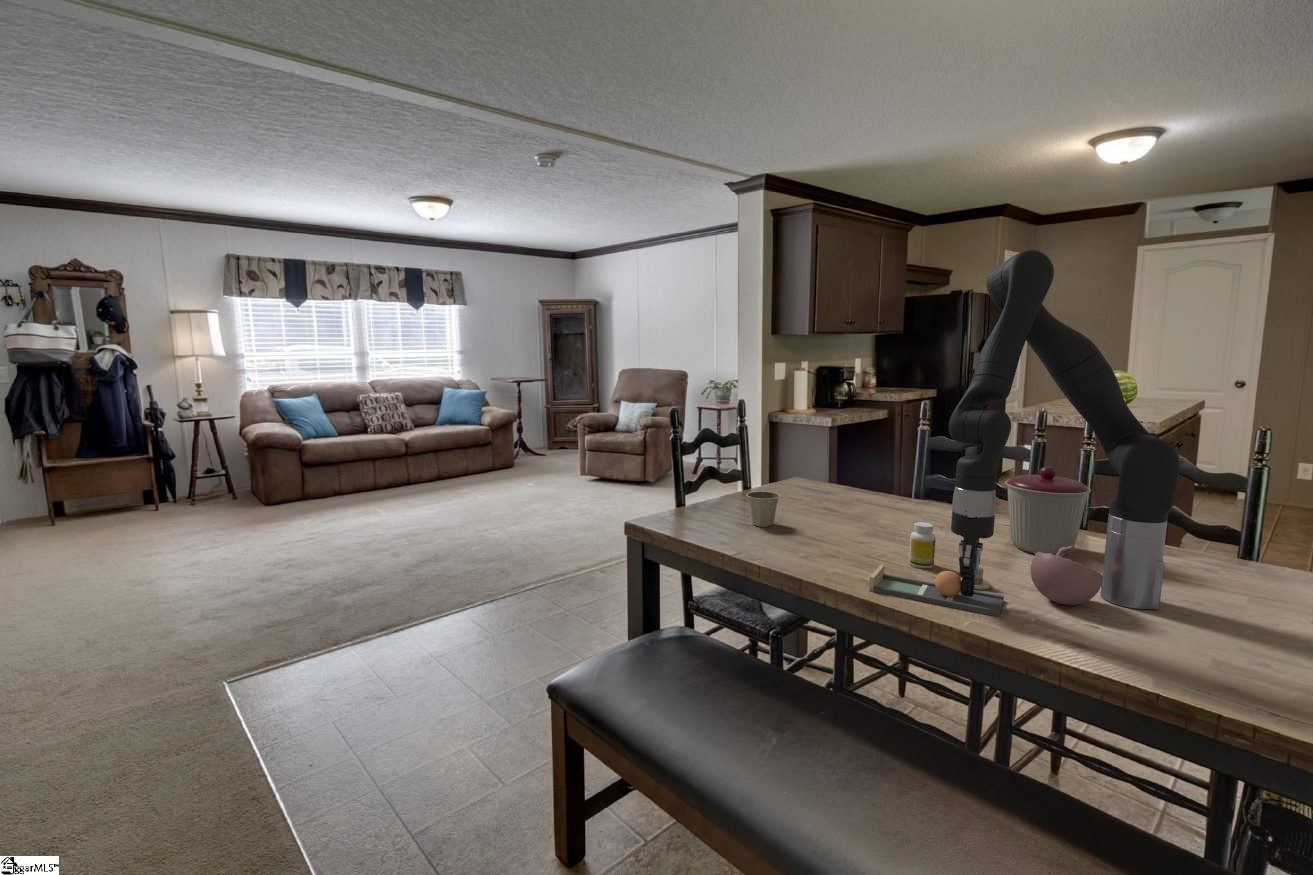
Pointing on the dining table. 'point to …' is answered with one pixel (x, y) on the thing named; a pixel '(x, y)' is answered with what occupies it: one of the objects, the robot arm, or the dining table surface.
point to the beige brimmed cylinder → (980, 581)
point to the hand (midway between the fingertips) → (967, 594)
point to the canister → (1045, 511)
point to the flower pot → (763, 507)
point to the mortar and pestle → (1064, 578)
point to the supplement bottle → (922, 546)
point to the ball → (948, 583)
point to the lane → (934, 593)
